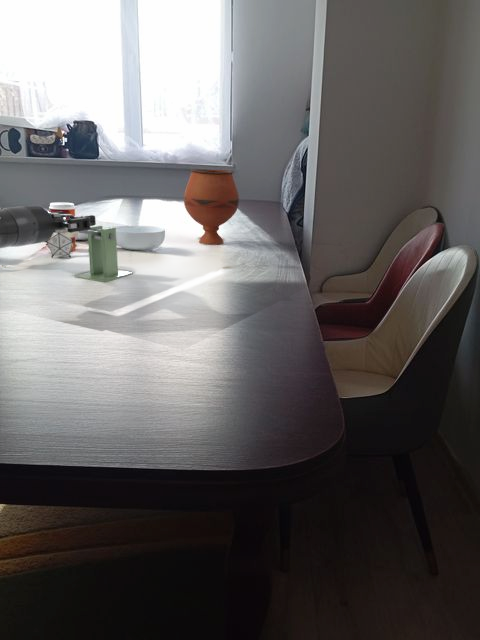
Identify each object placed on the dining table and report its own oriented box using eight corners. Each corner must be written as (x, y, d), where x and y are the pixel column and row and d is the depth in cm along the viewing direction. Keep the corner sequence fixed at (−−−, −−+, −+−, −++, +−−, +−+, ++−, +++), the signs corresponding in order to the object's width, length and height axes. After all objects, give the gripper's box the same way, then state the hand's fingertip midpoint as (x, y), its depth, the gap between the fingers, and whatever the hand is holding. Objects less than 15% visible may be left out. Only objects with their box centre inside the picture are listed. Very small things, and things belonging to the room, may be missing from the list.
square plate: (131, 234, 193) (131, 224, 192) (79, 244, 170) (78, 232, 169) (75, 226, 203) (75, 216, 202) (19, 235, 180) (18, 223, 178)
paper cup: (83, 250, 160) (80, 204, 155) (59, 252, 155) (55, 205, 150) (72, 246, 165) (68, 201, 160) (48, 248, 160) (43, 202, 155)
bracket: (105, 286, 122) (102, 231, 118) (75, 281, 125) (70, 227, 121) (132, 277, 132) (130, 226, 127) (104, 272, 135) (101, 223, 130)
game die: (66, 268, 153) (83, 239, 155) (65, 263, 145) (82, 233, 147) (38, 252, 151) (55, 223, 152) (34, 247, 143) (52, 216, 144)
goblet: (175, 244, 180) (174, 168, 171) (196, 236, 197) (196, 168, 188) (227, 249, 175) (229, 172, 166) (243, 241, 193) (246, 171, 184)
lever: (70, 237, 112) (71, 220, 112) (57, 235, 114) (58, 218, 113) (111, 243, 126) (112, 228, 125) (99, 242, 127) (100, 227, 126)
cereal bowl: (175, 250, 169) (175, 228, 166) (142, 258, 155) (141, 234, 152) (135, 244, 176) (134, 222, 173) (100, 250, 162) (98, 227, 159)
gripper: (49, 210, 99) (103, 204, 113) (-7, 203, 103) (52, 198, 117) (52, 249, 101) (105, 238, 115) (-2, 240, 106) (55, 231, 120)
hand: (78, 218), depth 116 cm, fingers open, 8 cm apart
